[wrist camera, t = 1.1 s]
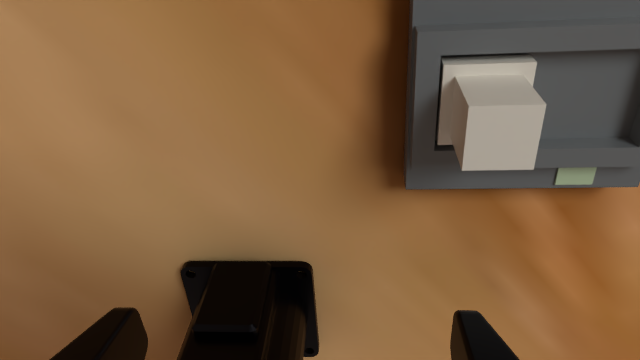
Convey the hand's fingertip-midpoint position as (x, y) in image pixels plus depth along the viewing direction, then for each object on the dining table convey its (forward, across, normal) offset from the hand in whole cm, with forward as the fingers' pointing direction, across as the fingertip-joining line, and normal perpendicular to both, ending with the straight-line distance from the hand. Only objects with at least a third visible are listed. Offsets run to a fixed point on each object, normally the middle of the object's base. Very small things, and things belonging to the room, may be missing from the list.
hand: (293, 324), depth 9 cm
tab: (+11, -5, 0) cm, 12 cm away
